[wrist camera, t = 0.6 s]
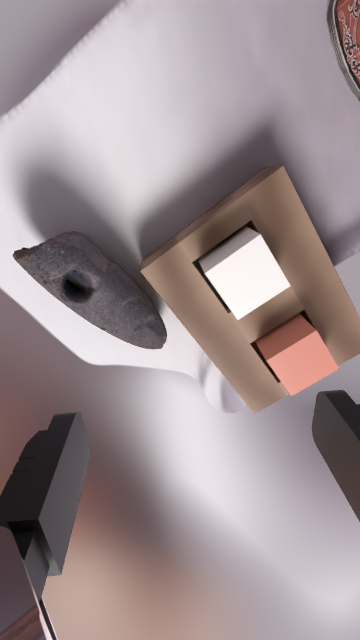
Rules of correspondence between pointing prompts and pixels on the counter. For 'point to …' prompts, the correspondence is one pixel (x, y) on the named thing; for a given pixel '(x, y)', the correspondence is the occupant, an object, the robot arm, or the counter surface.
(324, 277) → the frame
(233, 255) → the key white
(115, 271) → the perforated stone tool
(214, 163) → the counter surface
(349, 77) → the lighter
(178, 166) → the counter surface
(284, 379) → the salmon pink block
